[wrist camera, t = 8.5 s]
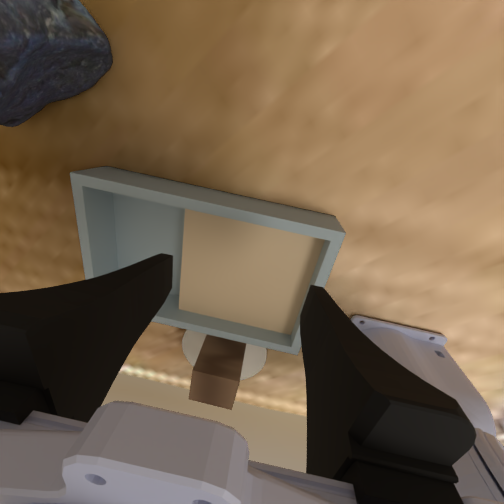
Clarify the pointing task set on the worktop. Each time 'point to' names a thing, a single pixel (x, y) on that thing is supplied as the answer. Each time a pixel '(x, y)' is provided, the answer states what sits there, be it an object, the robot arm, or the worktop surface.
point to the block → (217, 372)
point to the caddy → (209, 252)
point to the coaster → (252, 356)
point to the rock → (47, 55)
